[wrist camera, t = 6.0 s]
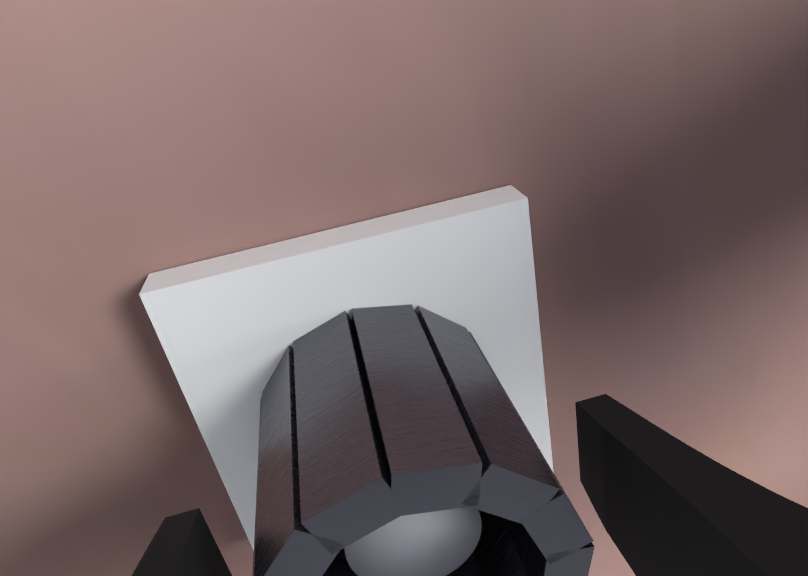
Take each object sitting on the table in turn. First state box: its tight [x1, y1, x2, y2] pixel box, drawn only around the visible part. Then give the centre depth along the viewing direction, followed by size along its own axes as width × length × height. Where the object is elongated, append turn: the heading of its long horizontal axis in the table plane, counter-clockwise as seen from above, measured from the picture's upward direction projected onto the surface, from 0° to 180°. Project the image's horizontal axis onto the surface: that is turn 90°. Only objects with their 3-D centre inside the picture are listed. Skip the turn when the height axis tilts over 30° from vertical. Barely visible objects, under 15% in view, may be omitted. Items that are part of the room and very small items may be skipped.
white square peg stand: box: [139, 185, 553, 576], centre depth 12 cm, size 8×8×5 cm
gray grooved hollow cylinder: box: [253, 304, 594, 576], centre depth 12 cm, size 5×5×5 cm
